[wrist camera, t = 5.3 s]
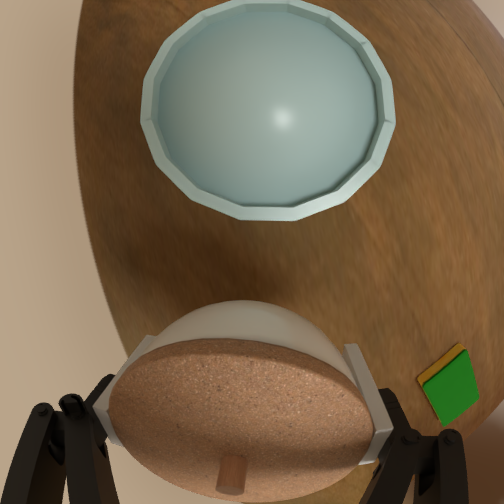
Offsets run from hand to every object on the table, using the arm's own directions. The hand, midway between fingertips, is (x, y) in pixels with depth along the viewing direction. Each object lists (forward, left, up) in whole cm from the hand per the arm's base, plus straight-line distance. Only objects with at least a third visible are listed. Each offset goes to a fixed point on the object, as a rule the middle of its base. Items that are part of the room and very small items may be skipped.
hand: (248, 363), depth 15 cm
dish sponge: (+14, +27, -11) cm, 32 cm away
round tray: (-18, +1, -10) cm, 20 cm away
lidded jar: (0, 0, -1) cm, 1 cm away
